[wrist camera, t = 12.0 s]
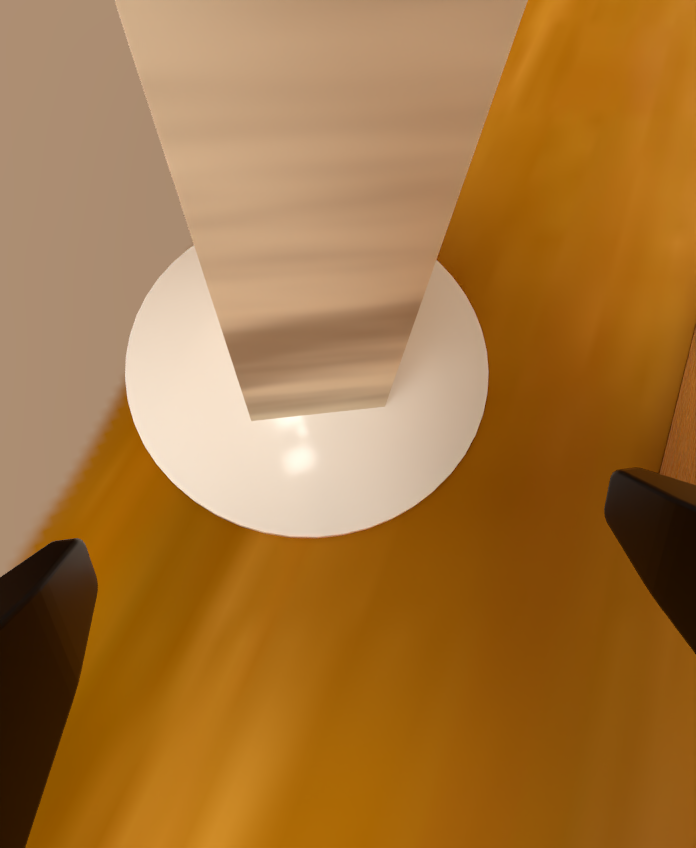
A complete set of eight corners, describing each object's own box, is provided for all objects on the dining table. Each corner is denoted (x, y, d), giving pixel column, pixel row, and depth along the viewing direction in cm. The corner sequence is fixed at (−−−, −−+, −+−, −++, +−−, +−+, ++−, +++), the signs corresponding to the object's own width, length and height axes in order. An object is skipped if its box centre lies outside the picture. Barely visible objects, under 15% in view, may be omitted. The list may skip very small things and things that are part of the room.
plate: (112, 547, 17) (105, 545, 17) (145, 219, 22) (141, 209, 22) (509, 529, 19) (515, 527, 18) (460, 220, 23) (464, 211, 23)
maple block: (384, 406, 19) (537, -29, 6) (251, 421, 19) (107, -23, 6) (364, 294, 21) (451, -237, 8) (241, 304, 20) (113, -247, 7)
